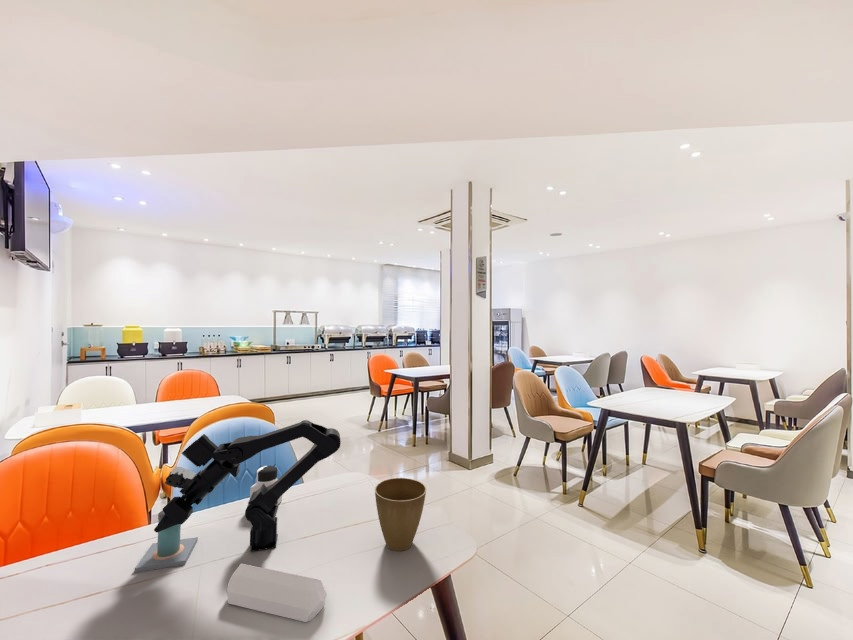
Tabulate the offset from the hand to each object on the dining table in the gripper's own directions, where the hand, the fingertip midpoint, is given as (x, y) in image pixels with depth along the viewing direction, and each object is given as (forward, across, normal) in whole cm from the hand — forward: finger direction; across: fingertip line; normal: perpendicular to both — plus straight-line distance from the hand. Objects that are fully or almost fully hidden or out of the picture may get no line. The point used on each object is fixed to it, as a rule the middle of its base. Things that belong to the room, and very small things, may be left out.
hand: (163, 521), depth 97 cm
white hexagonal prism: (-16, +24, +30) cm, 41 cm away
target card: (+5, 0, +7) cm, 9 cm away
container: (-9, -24, +22) cm, 34 cm away
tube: (+5, 0, +7) cm, 8 cm away
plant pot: (-38, +8, +51) cm, 64 cm away
